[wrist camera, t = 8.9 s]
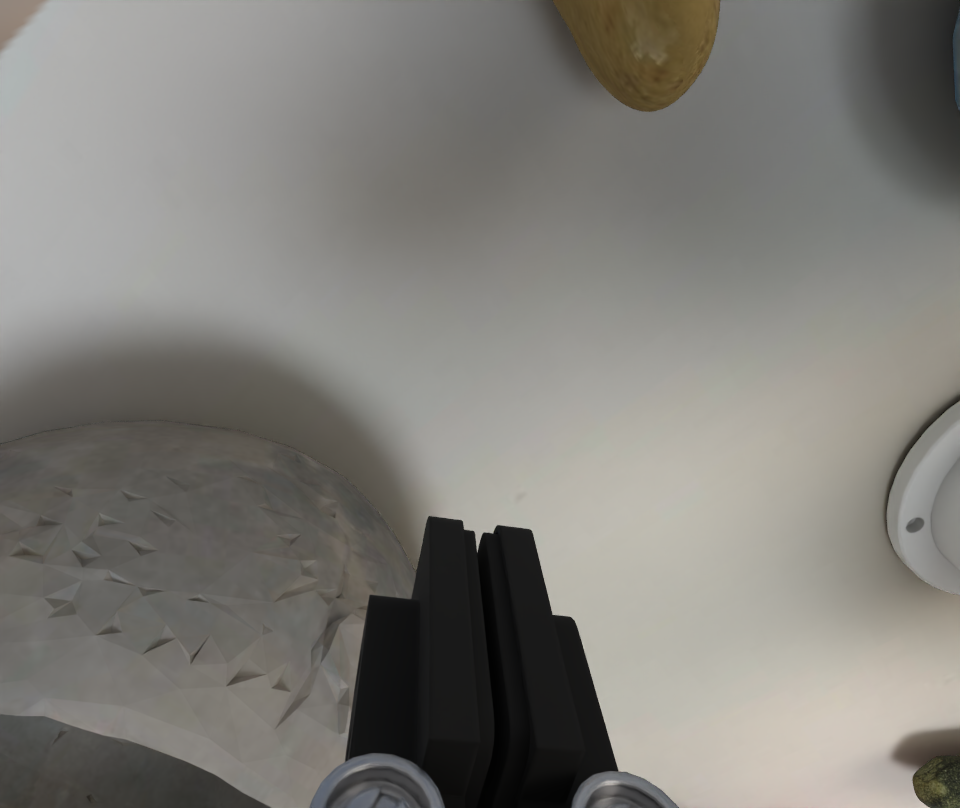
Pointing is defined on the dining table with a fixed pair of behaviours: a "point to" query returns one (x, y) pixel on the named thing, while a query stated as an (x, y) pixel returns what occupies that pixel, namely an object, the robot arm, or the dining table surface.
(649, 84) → the potato
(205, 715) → the bowl
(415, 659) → the robot arm
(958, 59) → the decorative ball
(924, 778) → the decorative stone
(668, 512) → the dining table surface
